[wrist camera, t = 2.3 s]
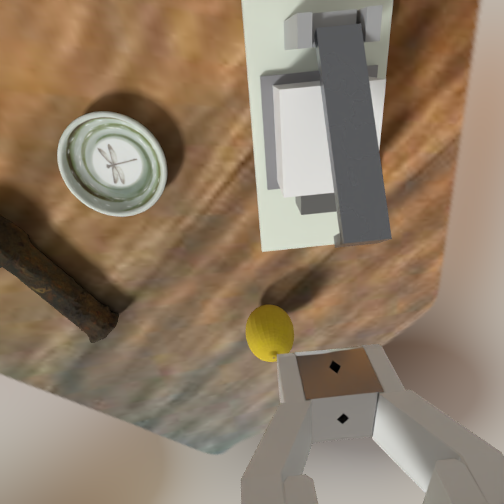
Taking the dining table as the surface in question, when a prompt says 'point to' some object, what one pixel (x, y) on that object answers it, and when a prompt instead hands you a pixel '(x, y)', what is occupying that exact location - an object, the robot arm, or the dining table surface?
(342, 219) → the strap
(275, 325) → the lemon
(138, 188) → the saucer
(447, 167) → the dining table surface
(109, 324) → the dark brown long bar
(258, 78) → the board
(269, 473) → the robot arm
